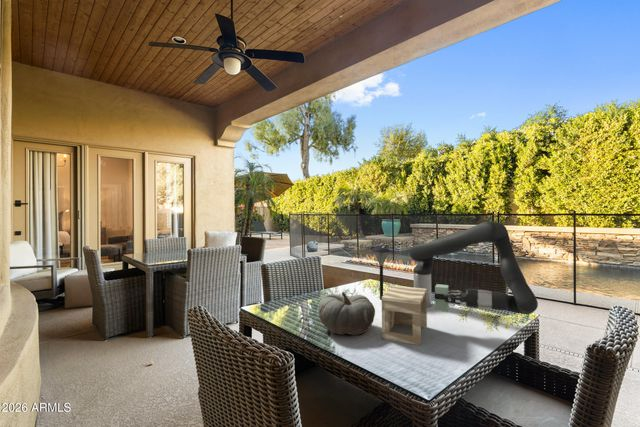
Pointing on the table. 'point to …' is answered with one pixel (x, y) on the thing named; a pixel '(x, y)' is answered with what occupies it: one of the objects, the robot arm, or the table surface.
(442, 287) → the block
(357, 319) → the gourd
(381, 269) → the solar garden light
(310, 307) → the table surface
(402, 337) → the box
